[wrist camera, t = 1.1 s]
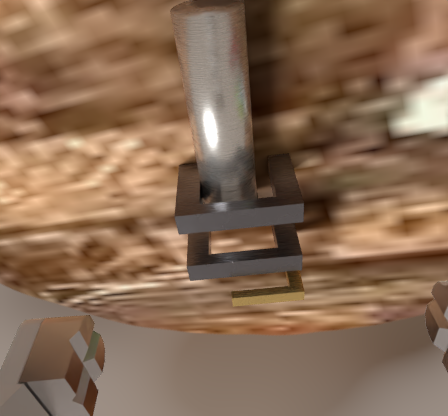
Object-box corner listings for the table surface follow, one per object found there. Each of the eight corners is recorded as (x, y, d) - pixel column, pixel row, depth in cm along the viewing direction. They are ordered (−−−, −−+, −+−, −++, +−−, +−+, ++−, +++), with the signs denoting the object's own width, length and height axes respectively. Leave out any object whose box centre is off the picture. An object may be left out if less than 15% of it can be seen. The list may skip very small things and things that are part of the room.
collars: (179, 165, 38) (173, 228, 31) (289, 153, 38) (307, 214, 31) (195, 244, 45) (194, 309, 38) (289, 234, 45) (304, 299, 38)
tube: (183, -2, 30) (158, 19, 26) (251, -6, 28) (235, 15, 25) (212, 191, 41) (198, 225, 37) (262, 195, 40) (252, 230, 36)
